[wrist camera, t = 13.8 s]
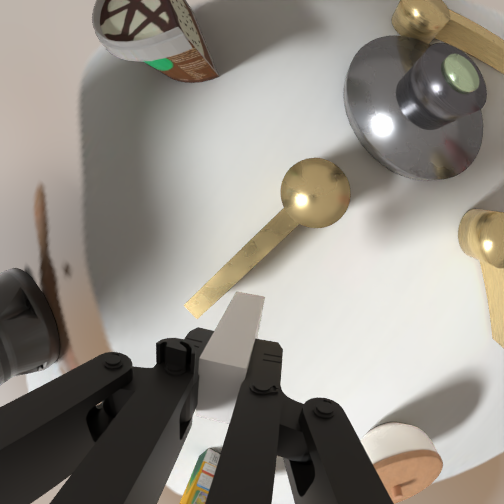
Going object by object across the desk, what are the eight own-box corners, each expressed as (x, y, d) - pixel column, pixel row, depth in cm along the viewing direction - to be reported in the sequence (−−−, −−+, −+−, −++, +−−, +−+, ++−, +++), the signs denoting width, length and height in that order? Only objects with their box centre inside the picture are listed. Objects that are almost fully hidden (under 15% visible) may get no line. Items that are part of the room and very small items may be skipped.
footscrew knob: (312, 154, 21) (315, 143, 16) (350, 195, 21) (364, 195, 17) (190, 274, 24) (168, 290, 20) (226, 310, 24) (211, 334, 20)
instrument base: (335, 160, 21) (358, 138, 12) (347, -3, 17) (359, -60, 9) (504, 211, 19) (564, 220, 10) (499, 58, 15) (541, 32, 6)
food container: (137, 29, 21) (84, -14, 11) (189, 3, 20) (149, -53, 10) (161, 118, 22) (92, 85, 13) (224, 90, 21) (180, 33, 11)
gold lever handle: (452, 221, 20) (480, 227, 15) (483, 201, 19) (512, 203, 14) (480, 343, 21) (501, 364, 17) (507, 322, 20) (530, 339, 16)
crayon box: (198, 455, 30) (170, 520, 19) (208, 447, 29) (180, 516, 18) (244, 477, 30) (227, 542, 18) (256, 469, 29) (241, 539, 18)
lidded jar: (322, 449, 27) (323, 511, 18) (388, 395, 24) (411, 459, 15) (378, 469, 26) (387, 521, 17) (439, 422, 24) (463, 474, 15)
